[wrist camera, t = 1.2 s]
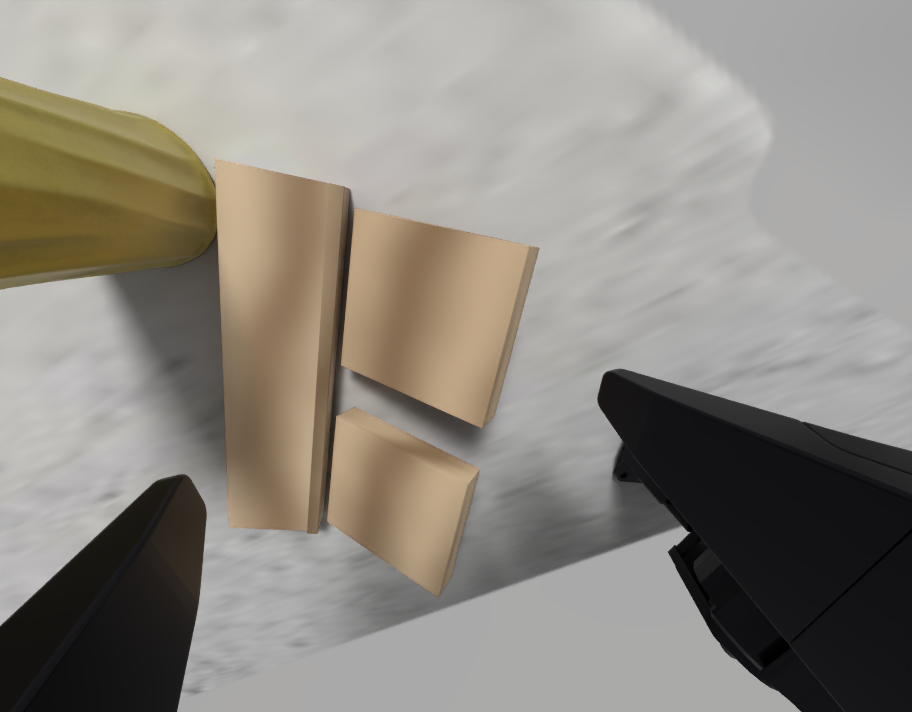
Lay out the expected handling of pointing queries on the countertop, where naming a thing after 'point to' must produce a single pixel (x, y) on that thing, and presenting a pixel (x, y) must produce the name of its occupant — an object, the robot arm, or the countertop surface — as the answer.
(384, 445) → the plank
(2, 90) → the vase
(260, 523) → the laid board
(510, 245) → the plank
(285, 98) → the countertop surface
